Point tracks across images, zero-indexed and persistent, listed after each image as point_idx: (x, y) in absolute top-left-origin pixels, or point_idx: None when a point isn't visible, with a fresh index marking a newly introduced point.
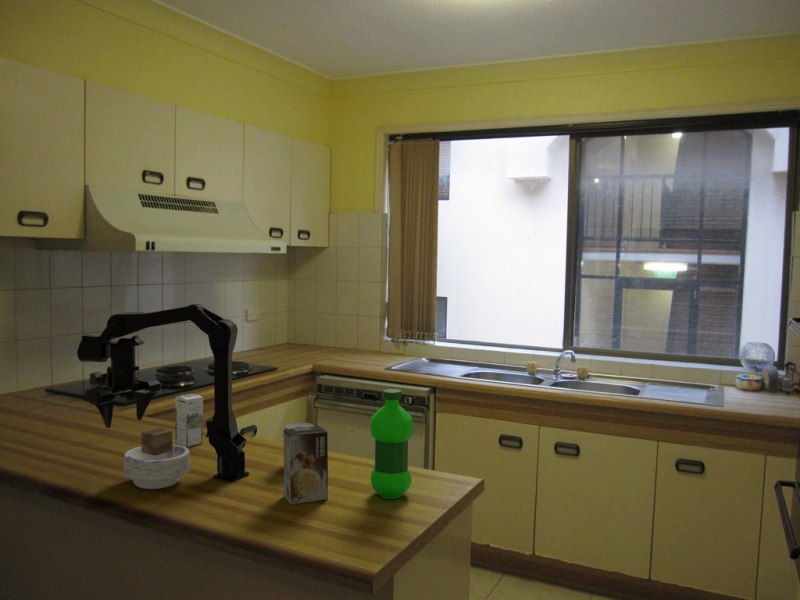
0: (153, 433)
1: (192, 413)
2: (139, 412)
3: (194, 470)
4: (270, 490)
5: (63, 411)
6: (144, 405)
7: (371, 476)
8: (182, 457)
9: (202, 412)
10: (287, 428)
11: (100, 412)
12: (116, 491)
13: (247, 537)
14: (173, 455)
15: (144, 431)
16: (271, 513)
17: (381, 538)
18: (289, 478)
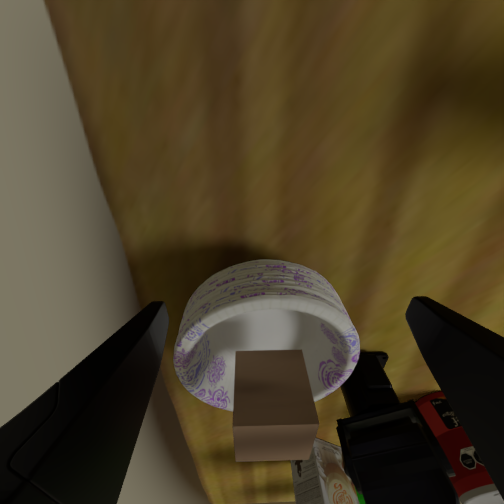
0: (248, 450)
1: None
2: (445, 358)
3: (363, 305)
4: (321, 421)
5: None
6: (482, 462)
7: (360, 500)
8: None
9: None
10: (476, 496)
11: (23, 423)
12: (172, 278)
13: (195, 458)
14: (326, 339)
15: (248, 426)
16: None
17: (262, 495)
18: (296, 489)
